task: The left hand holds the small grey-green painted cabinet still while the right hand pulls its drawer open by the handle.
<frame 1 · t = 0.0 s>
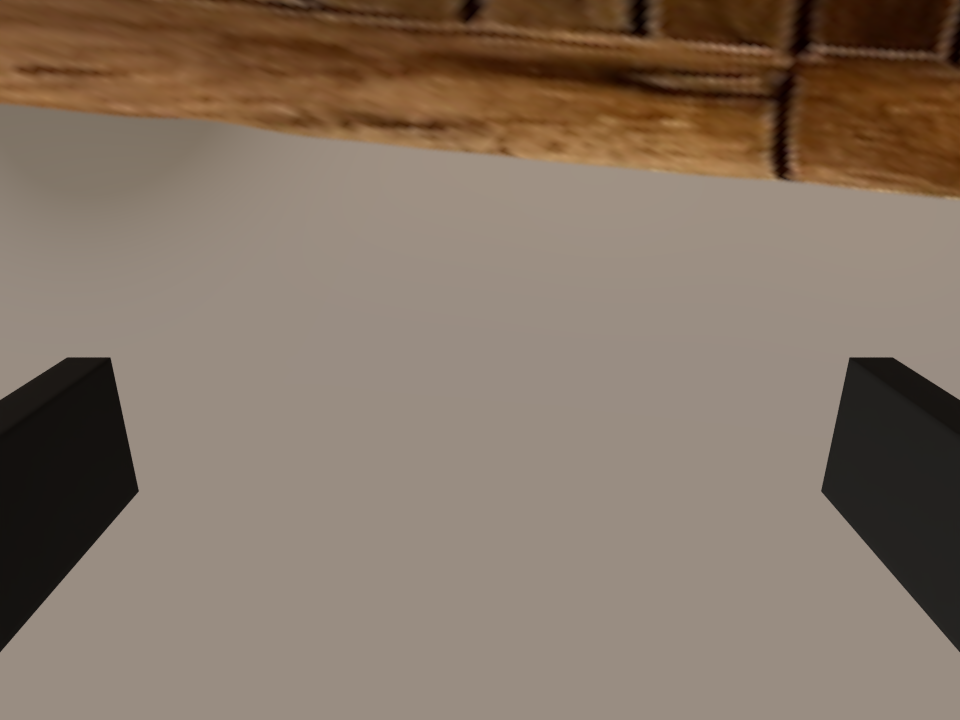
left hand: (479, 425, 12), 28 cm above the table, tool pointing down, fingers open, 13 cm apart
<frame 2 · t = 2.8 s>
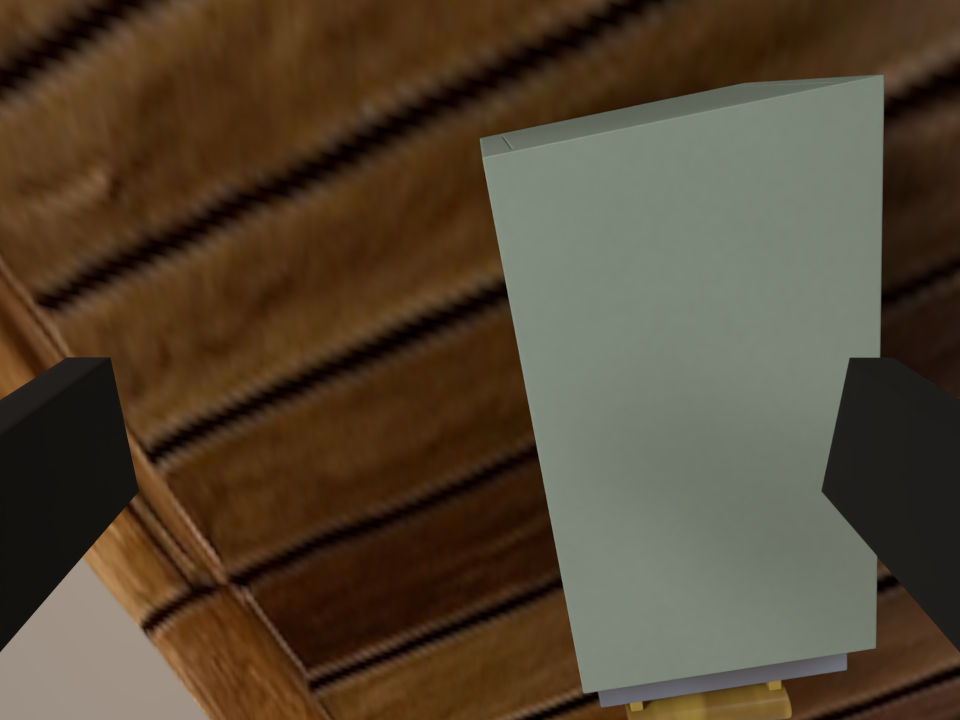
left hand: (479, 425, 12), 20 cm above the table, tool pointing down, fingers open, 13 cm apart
cabinet: (638, 337, 32), on the table
drawer: (679, 495, 30), point 5 cm above the table, slide at 0.8 cm
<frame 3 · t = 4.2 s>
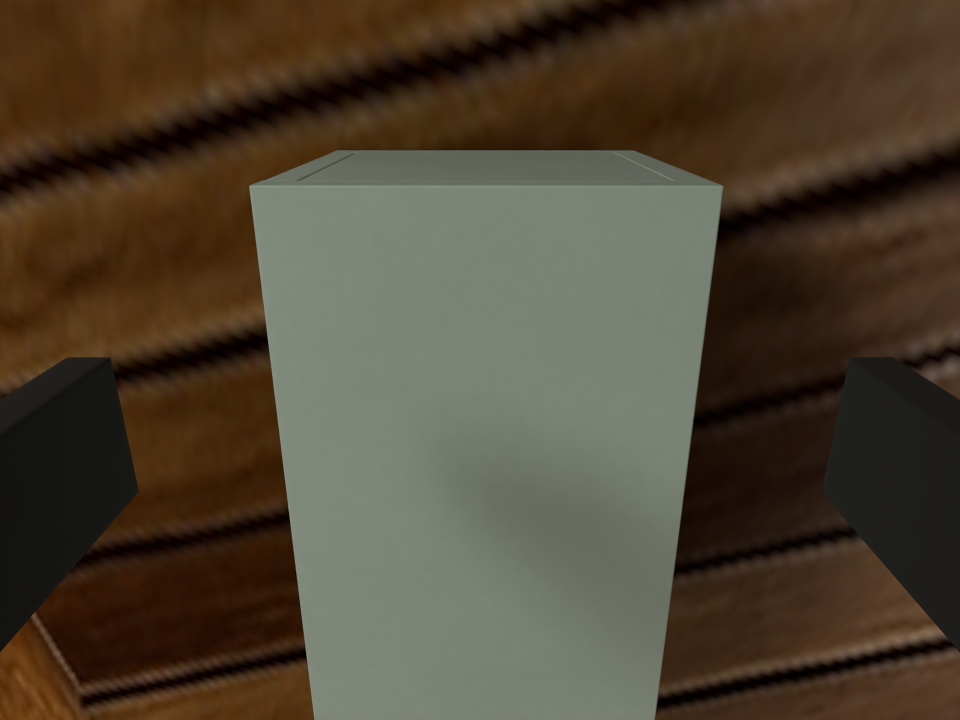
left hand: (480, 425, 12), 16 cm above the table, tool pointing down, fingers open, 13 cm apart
cabinet: (484, 398, 30), on the table
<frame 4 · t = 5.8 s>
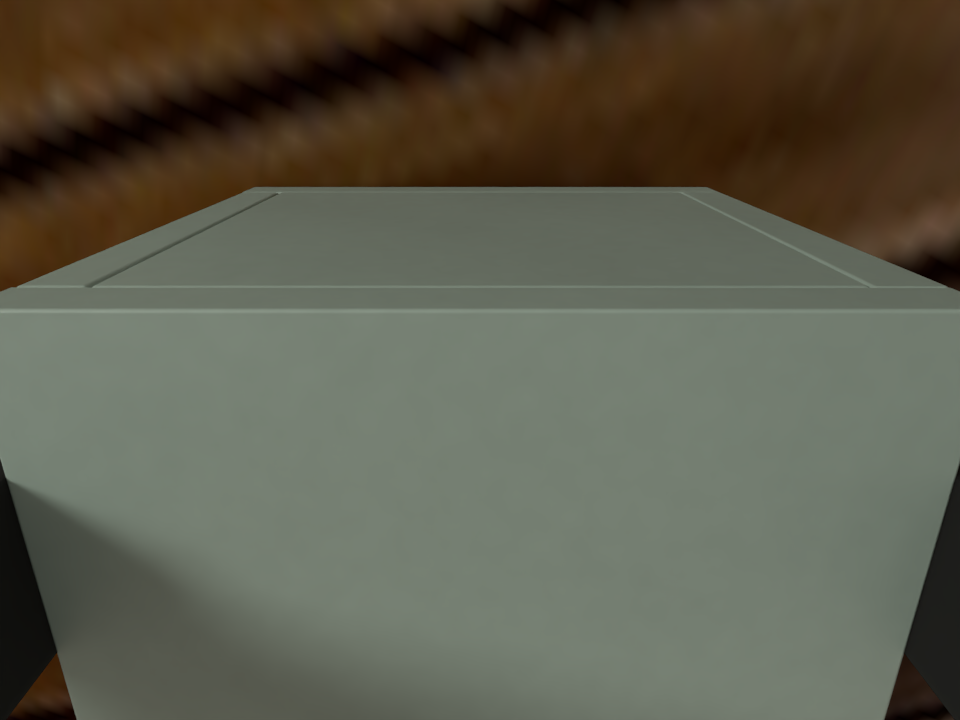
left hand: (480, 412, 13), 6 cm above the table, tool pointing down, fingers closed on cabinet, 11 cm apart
cabinet: (480, 534, 21), on the table, touching left hand
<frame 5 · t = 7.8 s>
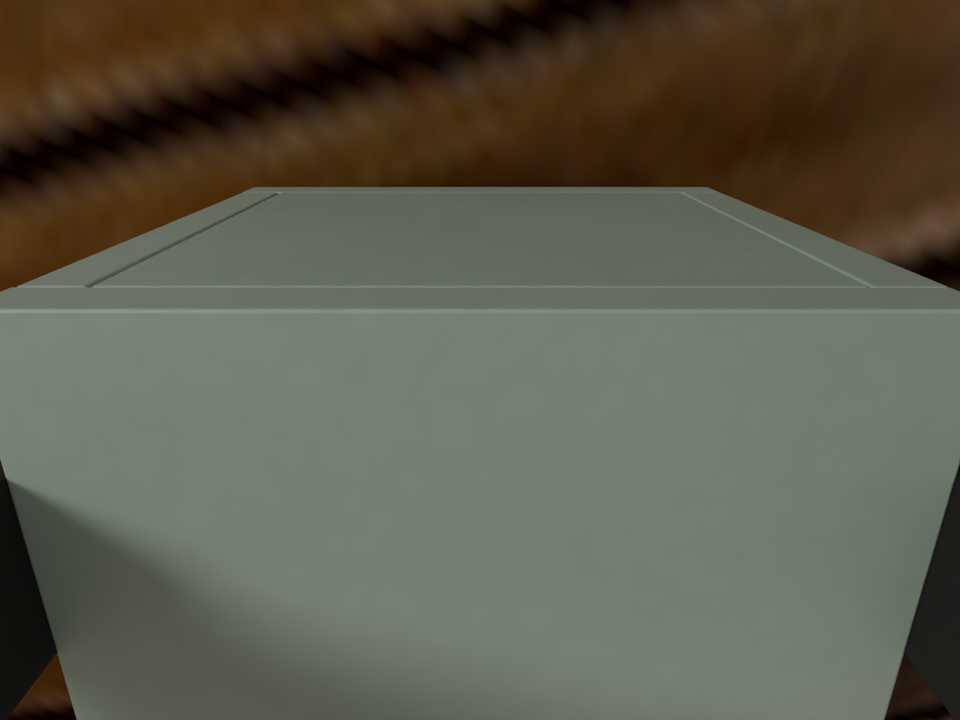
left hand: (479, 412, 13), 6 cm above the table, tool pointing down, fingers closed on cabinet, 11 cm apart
cabinet: (480, 534, 21), on the table, touching left hand
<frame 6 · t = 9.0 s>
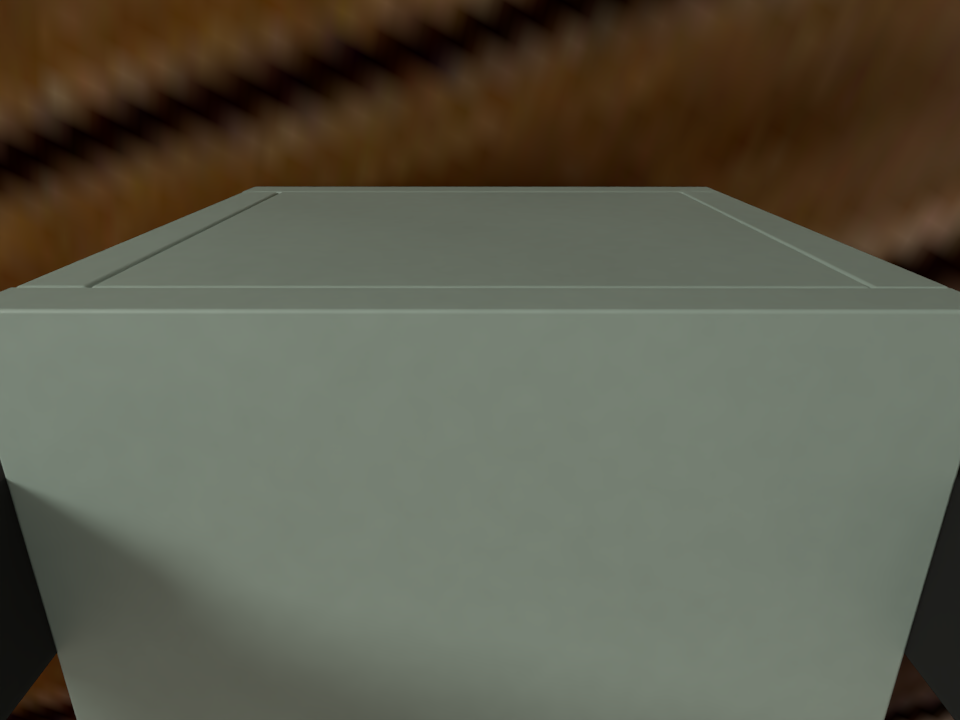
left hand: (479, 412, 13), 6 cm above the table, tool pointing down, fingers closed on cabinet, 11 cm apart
cabinet: (480, 534, 21), on the table, touching left hand
when the left hand's fingers open (6 cm above the table, at t = 10.7 s): cabinet stays where it is, on the table.
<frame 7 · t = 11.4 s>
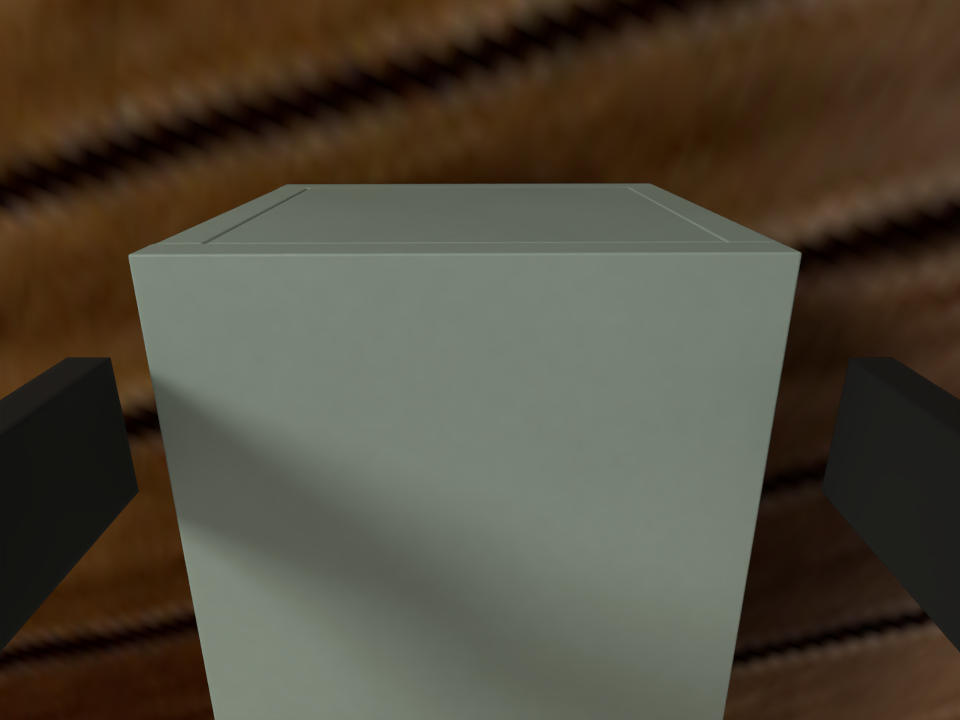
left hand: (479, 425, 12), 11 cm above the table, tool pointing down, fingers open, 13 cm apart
cabinet: (470, 475, 25), on the table
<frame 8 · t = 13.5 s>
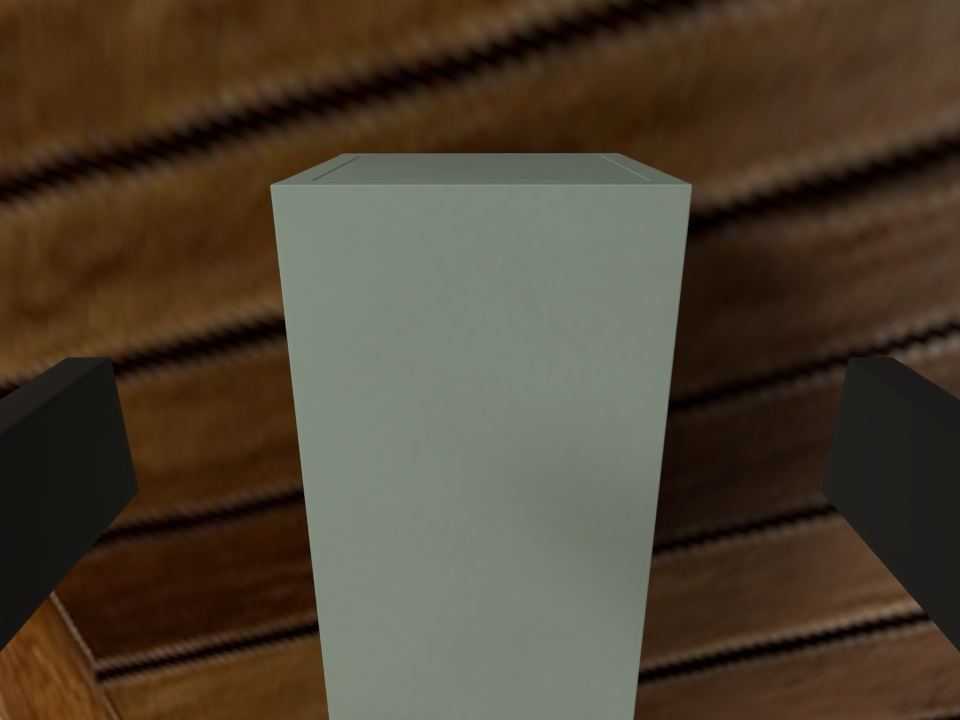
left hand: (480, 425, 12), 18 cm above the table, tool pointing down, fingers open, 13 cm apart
cabinet: (481, 385, 32), on the table
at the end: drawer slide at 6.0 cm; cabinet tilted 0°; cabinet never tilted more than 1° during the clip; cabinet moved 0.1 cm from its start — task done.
